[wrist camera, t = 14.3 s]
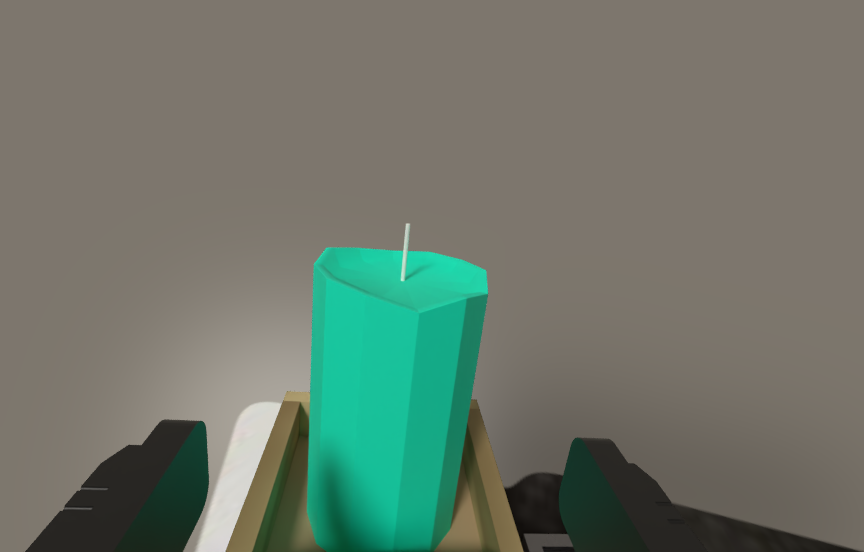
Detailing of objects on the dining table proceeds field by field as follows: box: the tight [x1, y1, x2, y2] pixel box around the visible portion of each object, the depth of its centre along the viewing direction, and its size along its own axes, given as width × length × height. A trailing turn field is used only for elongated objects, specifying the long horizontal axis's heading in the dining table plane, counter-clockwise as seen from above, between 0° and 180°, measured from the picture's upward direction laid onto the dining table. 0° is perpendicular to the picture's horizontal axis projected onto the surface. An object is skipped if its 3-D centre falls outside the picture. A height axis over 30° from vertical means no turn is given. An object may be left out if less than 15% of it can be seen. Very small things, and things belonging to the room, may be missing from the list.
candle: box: [307, 224, 488, 552], centre depth 17 cm, size 6×6×12 cm
